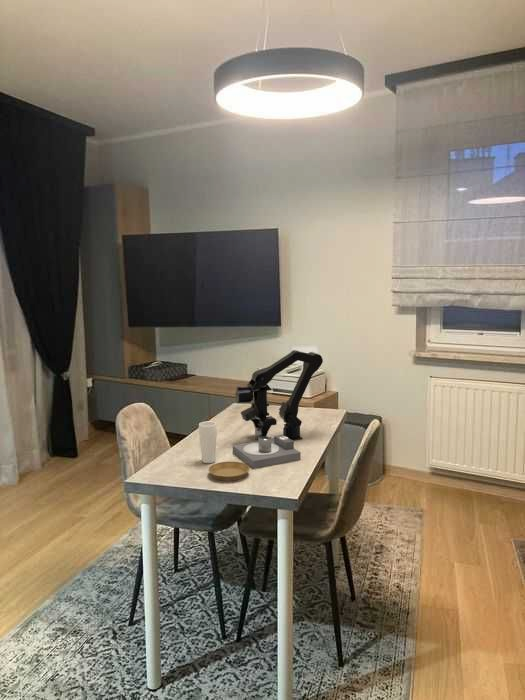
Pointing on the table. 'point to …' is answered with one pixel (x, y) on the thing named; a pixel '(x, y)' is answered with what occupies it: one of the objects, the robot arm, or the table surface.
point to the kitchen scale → (279, 454)
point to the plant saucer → (229, 470)
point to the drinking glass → (208, 441)
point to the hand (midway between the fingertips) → (260, 436)
